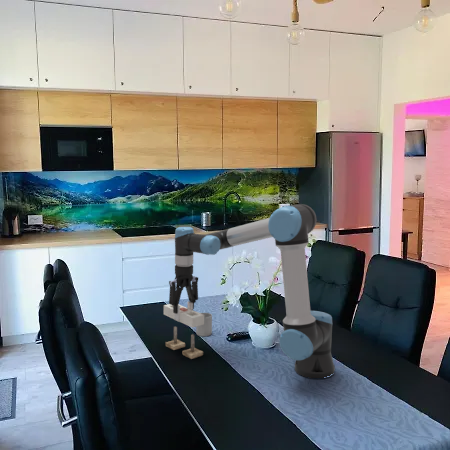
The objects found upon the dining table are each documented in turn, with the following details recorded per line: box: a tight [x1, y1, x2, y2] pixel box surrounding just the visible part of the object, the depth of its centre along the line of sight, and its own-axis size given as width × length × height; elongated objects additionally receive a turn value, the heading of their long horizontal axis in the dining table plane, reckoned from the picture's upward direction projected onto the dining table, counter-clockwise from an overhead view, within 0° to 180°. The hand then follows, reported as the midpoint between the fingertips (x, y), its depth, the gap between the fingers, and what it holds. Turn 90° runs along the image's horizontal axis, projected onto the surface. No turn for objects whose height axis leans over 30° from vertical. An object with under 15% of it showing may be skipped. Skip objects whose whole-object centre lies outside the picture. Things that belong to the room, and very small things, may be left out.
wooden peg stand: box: [165, 326, 204, 360], centre depth 206 cm, size 18×6×8 cm, turn 42°
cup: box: [195, 312, 213, 337], centre depth 227 cm, size 7×10×9 cm
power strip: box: [163, 303, 204, 328], centre depth 204 cm, size 20×6×5 cm, turn 42°
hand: (183, 318), depth 204 cm, fingers closed on power strip, 6 cm apart
